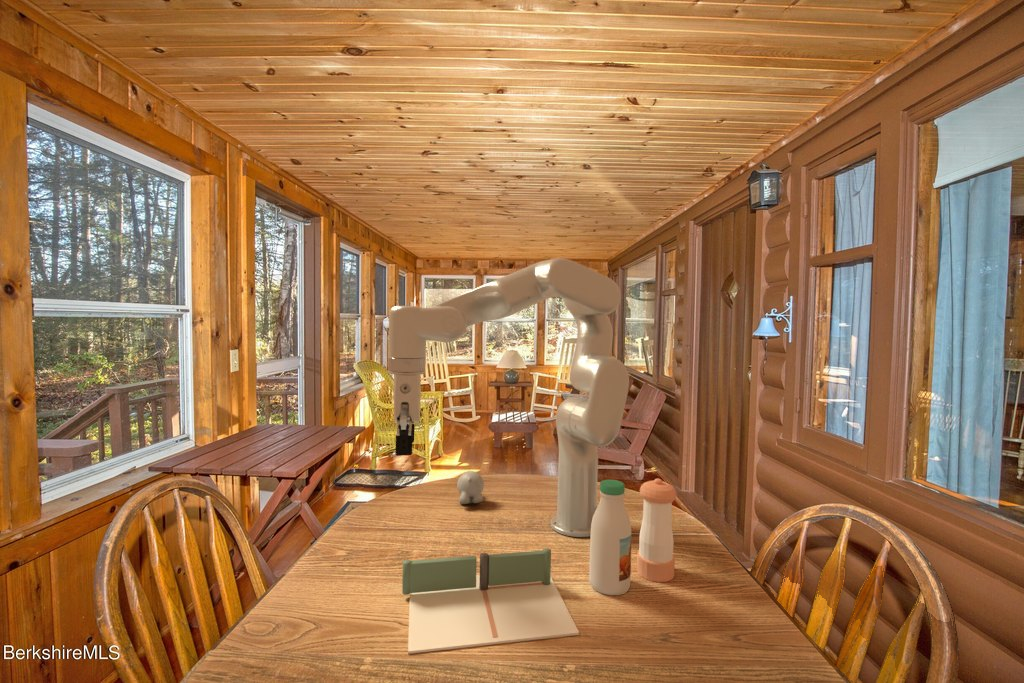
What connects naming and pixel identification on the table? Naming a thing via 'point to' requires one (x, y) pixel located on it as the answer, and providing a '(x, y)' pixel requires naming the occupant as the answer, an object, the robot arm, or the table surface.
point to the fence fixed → (515, 568)
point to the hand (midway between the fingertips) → (405, 448)
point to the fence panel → (438, 574)
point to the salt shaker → (656, 532)
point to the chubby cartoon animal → (470, 487)
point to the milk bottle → (610, 542)
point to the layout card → (486, 616)
